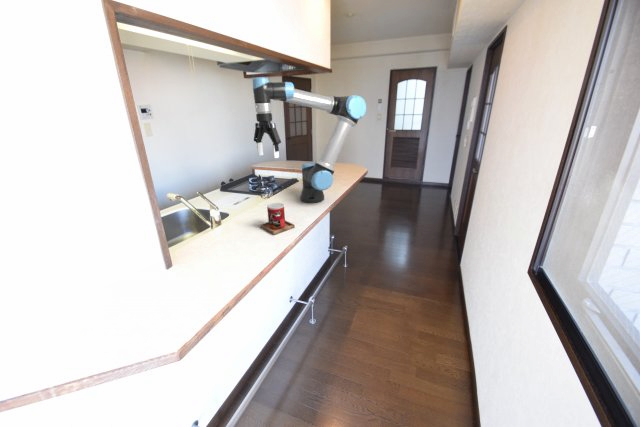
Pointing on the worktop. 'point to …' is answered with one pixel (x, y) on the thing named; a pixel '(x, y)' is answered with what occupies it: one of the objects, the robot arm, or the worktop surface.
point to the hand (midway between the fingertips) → (268, 156)
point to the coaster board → (287, 227)
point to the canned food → (276, 216)
